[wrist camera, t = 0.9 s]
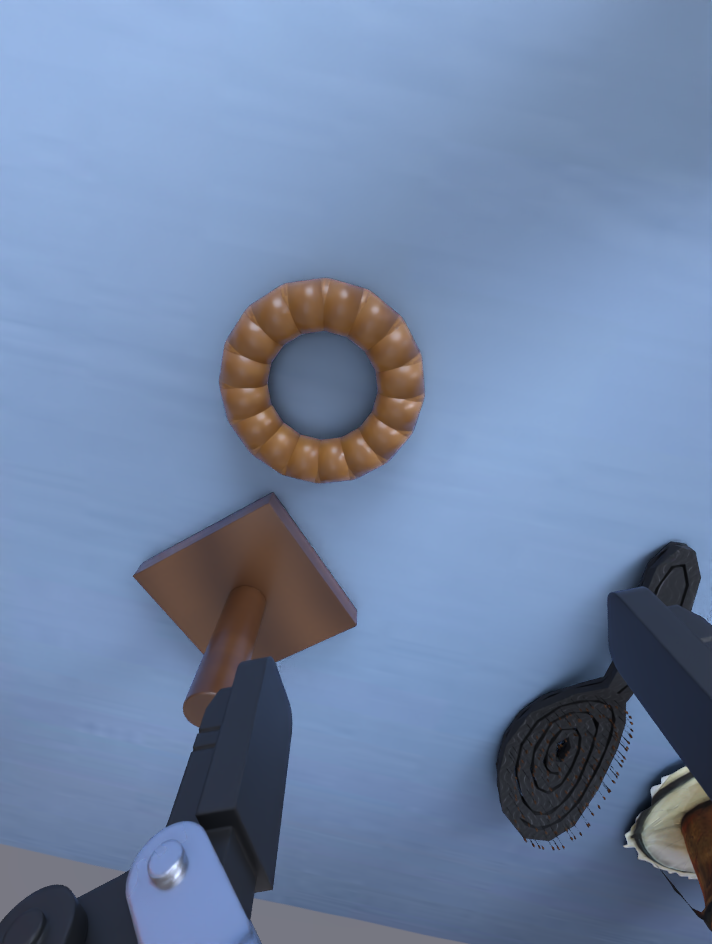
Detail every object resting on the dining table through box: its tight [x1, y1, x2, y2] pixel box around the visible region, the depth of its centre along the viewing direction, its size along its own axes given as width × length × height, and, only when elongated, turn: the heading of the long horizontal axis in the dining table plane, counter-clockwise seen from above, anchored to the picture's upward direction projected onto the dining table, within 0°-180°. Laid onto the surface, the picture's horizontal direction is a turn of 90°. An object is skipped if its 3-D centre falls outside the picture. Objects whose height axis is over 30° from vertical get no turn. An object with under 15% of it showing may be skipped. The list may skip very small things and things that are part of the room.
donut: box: [219, 278, 425, 484], centre depth 24 cm, size 10×10×2 cm
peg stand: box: [133, 493, 357, 728], centre depth 26 cm, size 10×10×10 cm
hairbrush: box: [496, 542, 701, 850], centre depth 32 cm, size 8×4×25 cm
